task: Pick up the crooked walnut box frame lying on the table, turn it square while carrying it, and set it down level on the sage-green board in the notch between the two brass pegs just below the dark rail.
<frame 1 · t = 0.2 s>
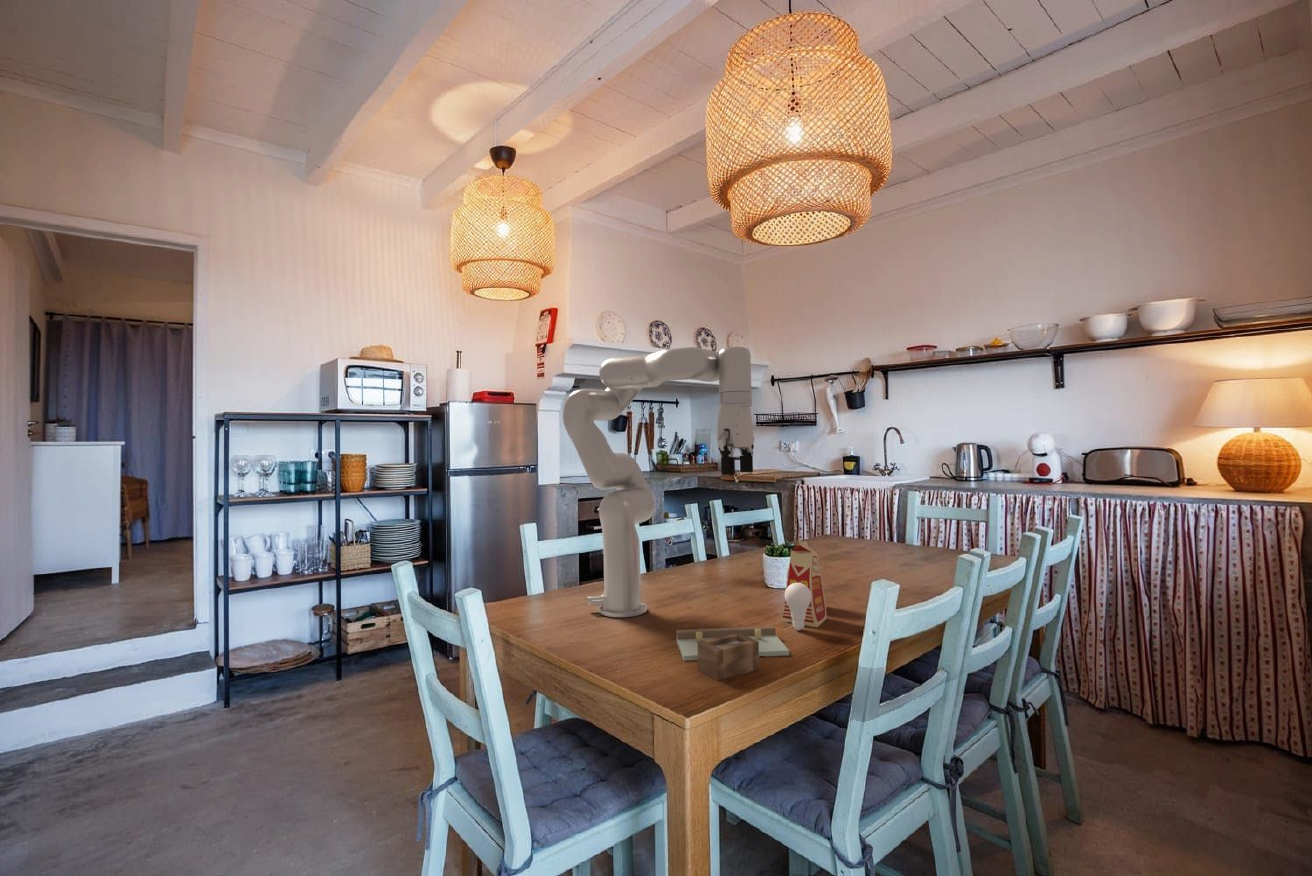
hand: (737, 473, 146), 37 cm above the table, tool pointing down, fingers open, 9 cm apart
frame: (728, 669, 122), on the table
milk carton: (804, 620, 153), on the table
board: (730, 648, 134), on the table
lightbulb: (798, 631, 145), on the table
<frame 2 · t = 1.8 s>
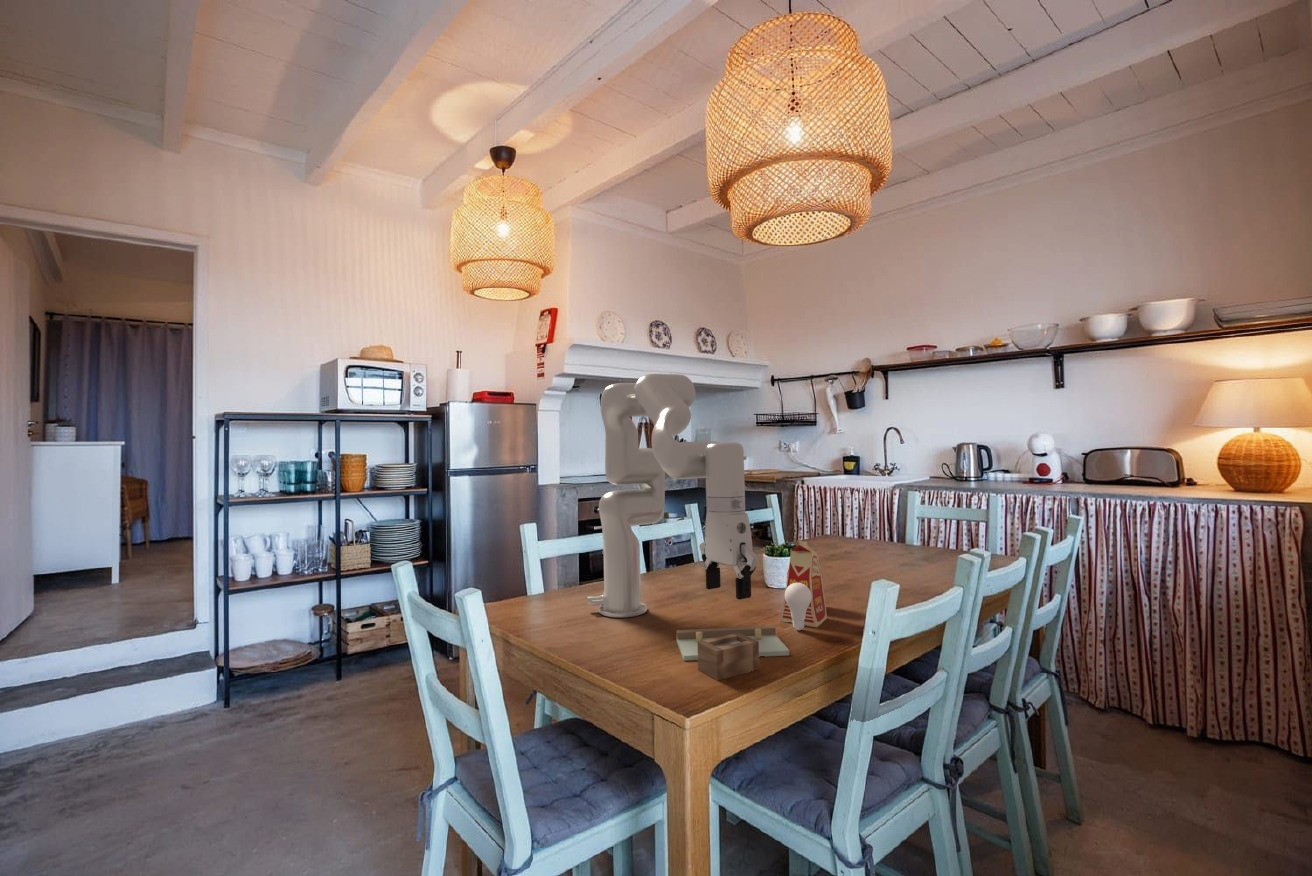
hand: (728, 593, 122), 15 cm above the table, tool pointing down, fingers open, 9 cm apart
nothing on the table moved.
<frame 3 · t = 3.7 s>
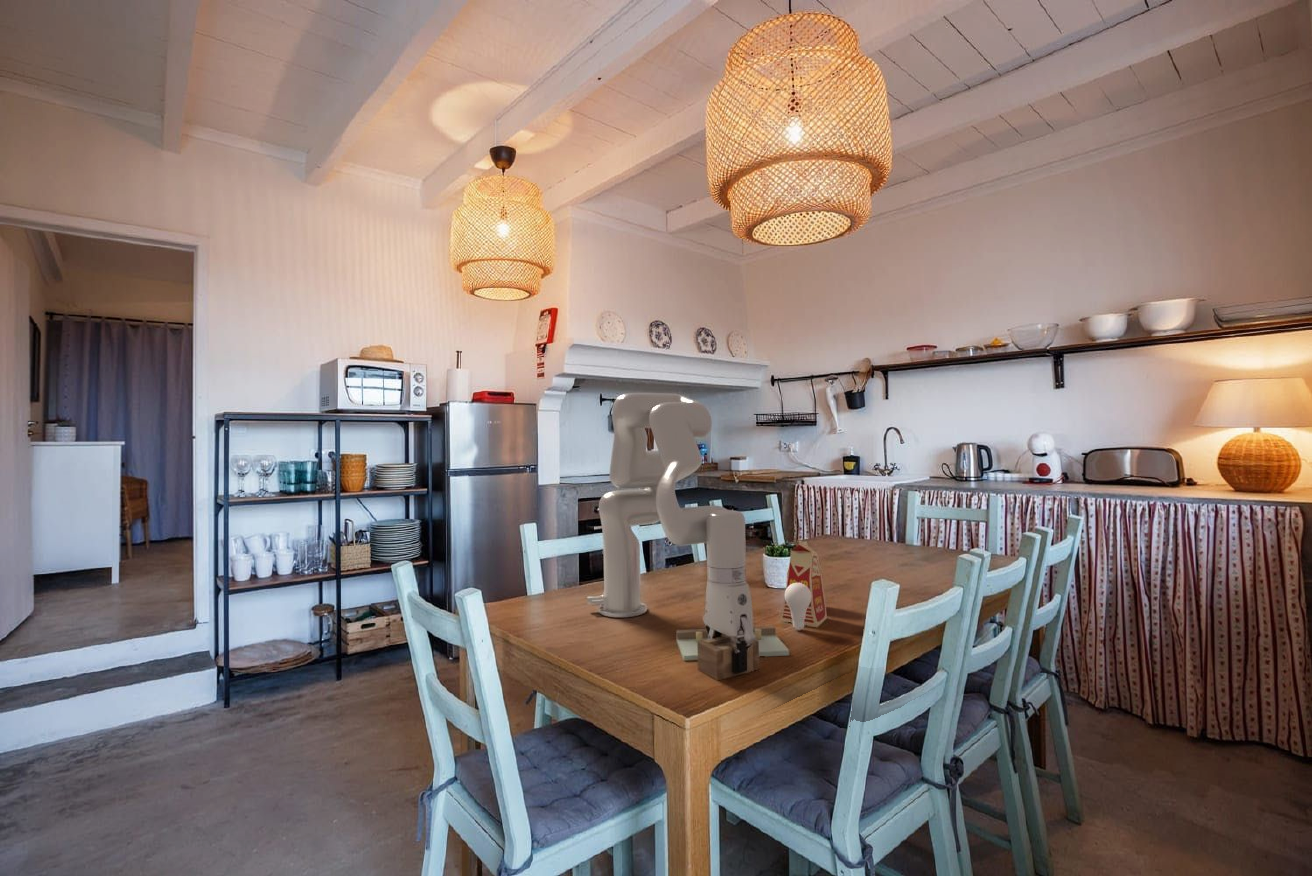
hand: (728, 665, 122), 1 cm above the table, tool pointing down, fingers closed on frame, 6 cm apart
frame: (728, 669, 122), on the table, touching gripper
everything else where it was.
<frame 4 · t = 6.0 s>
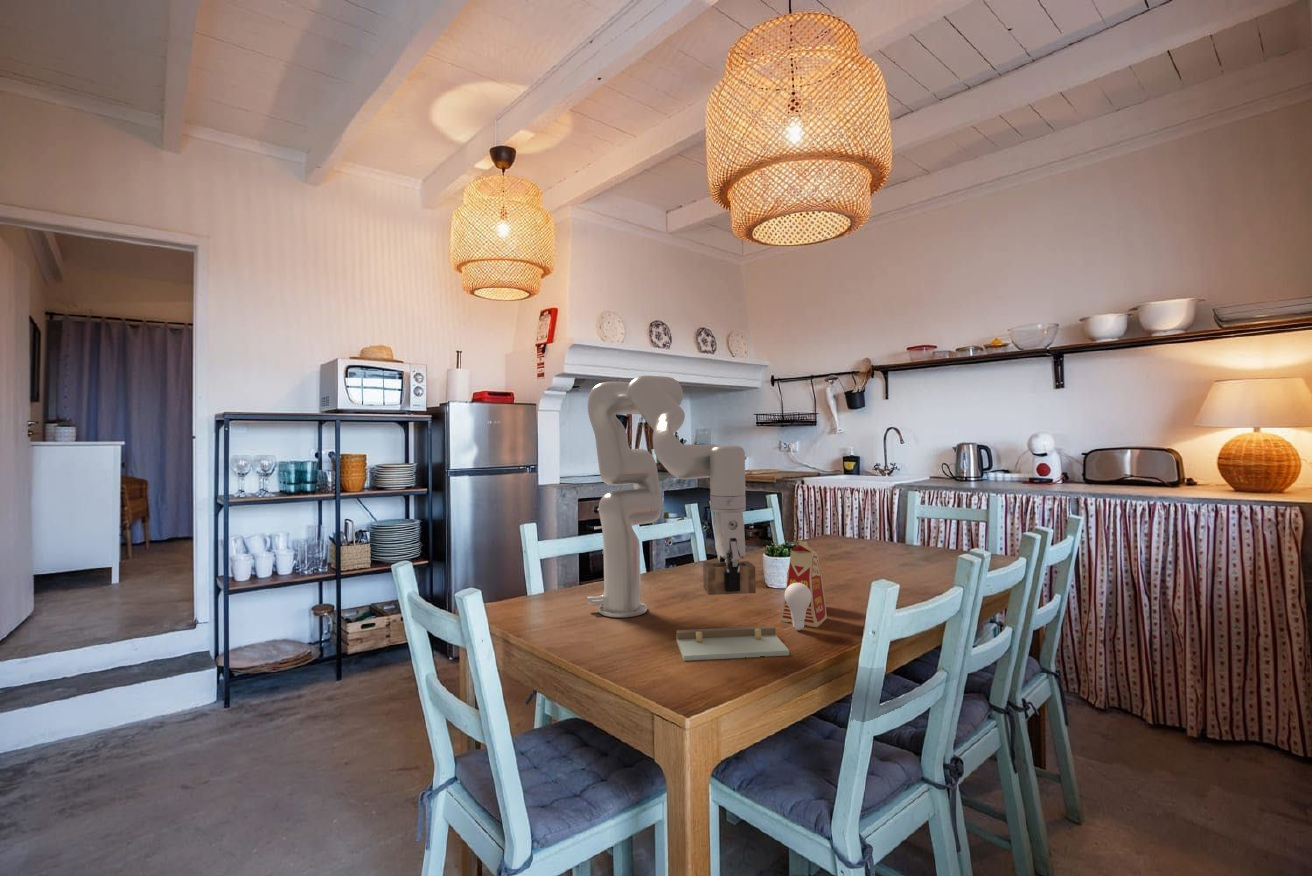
hand: (728, 586, 134), 13 cm above the table, tool pointing down, fingers closed on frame, 6 cm apart
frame: (729, 590, 134), point 12 cm above the table, touching gripper
everything else where it was.
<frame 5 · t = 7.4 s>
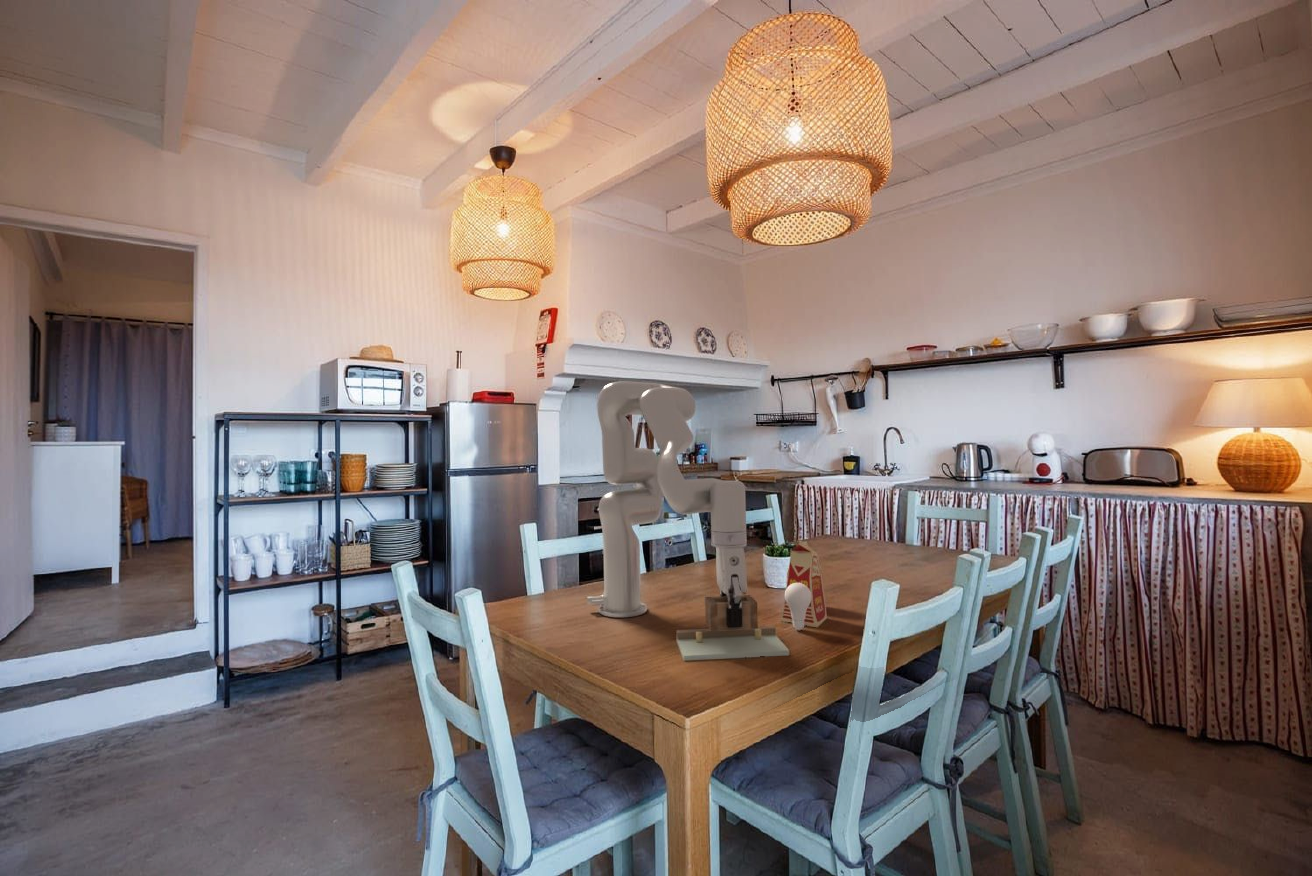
hand: (731, 621, 134), 6 cm above the table, tool pointing down, fingers closed on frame, 6 cm apart
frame: (731, 625, 134), point 5 cm above the table, touching gripper
everything else where it was.
when the fingers open (4 cm above the table, at t = 8.3 s): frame drops 2 cm, resting on board.
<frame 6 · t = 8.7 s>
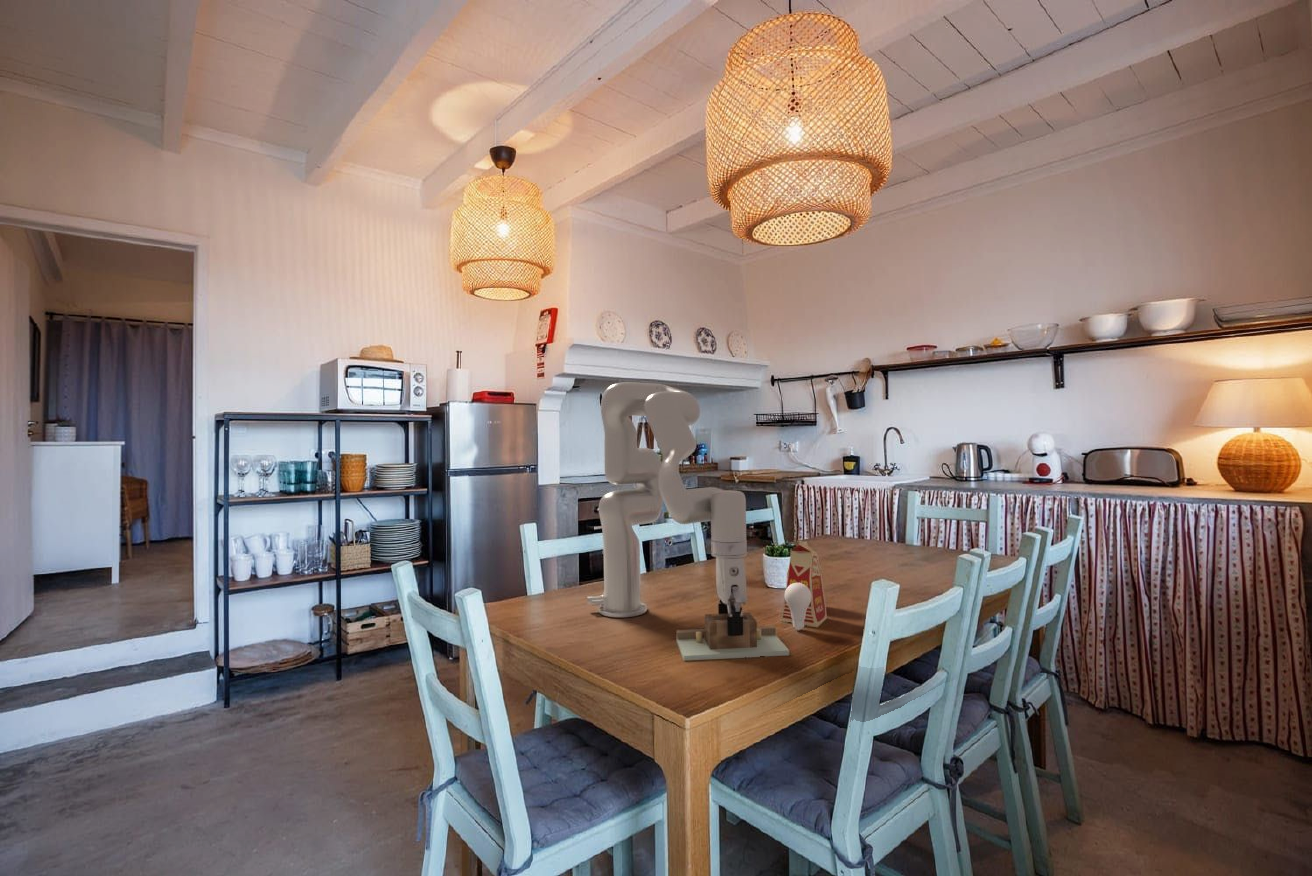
hand: (730, 628, 134), 4 cm above the table, tool pointing down, fingers open, 9 cm apart
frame: (730, 643, 134), point 1 cm above the table, touching board
everything else where it was.
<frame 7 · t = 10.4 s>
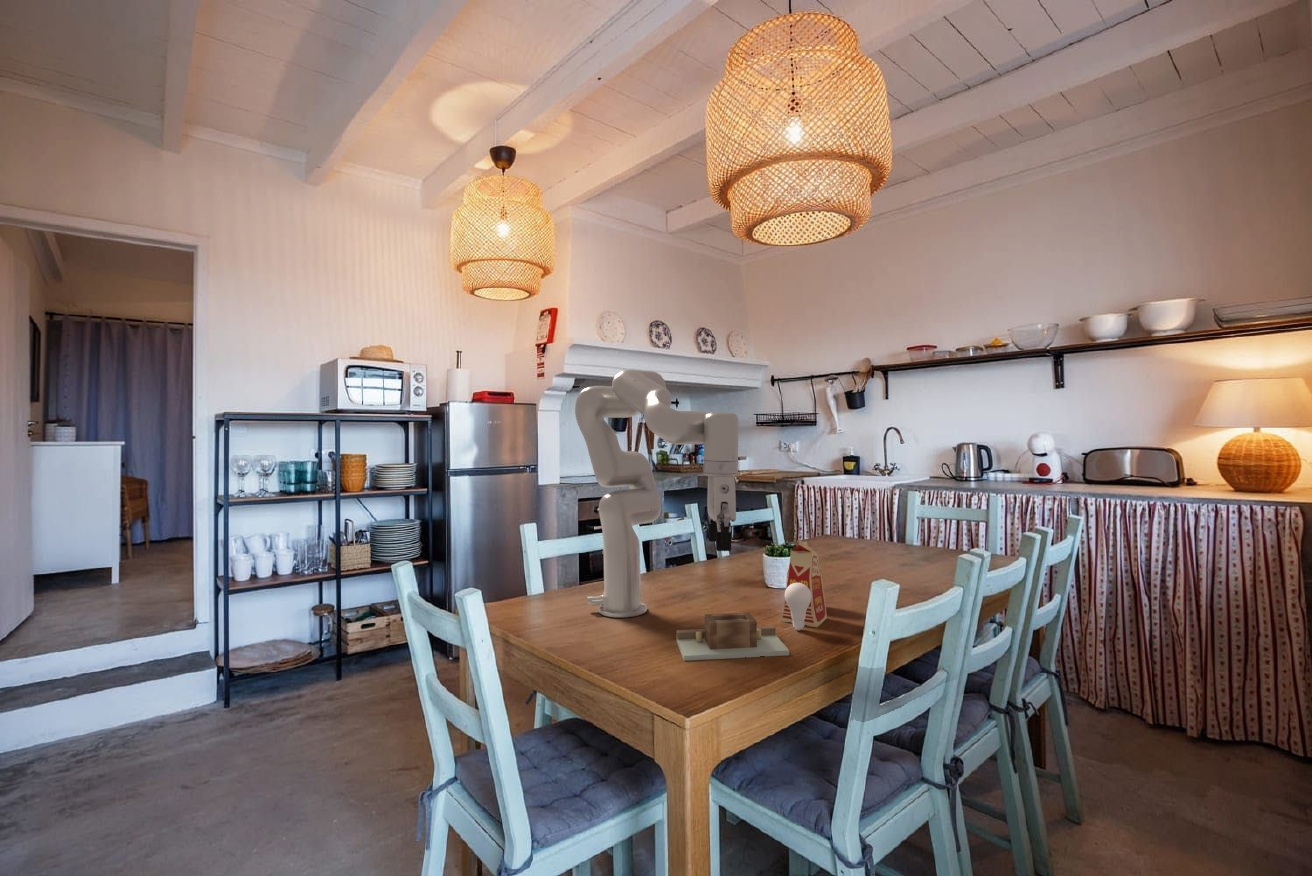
hand: (719, 545, 138), 21 cm above the table, tool pointing down, fingers open, 9 cm apart
nothing on the table moved.
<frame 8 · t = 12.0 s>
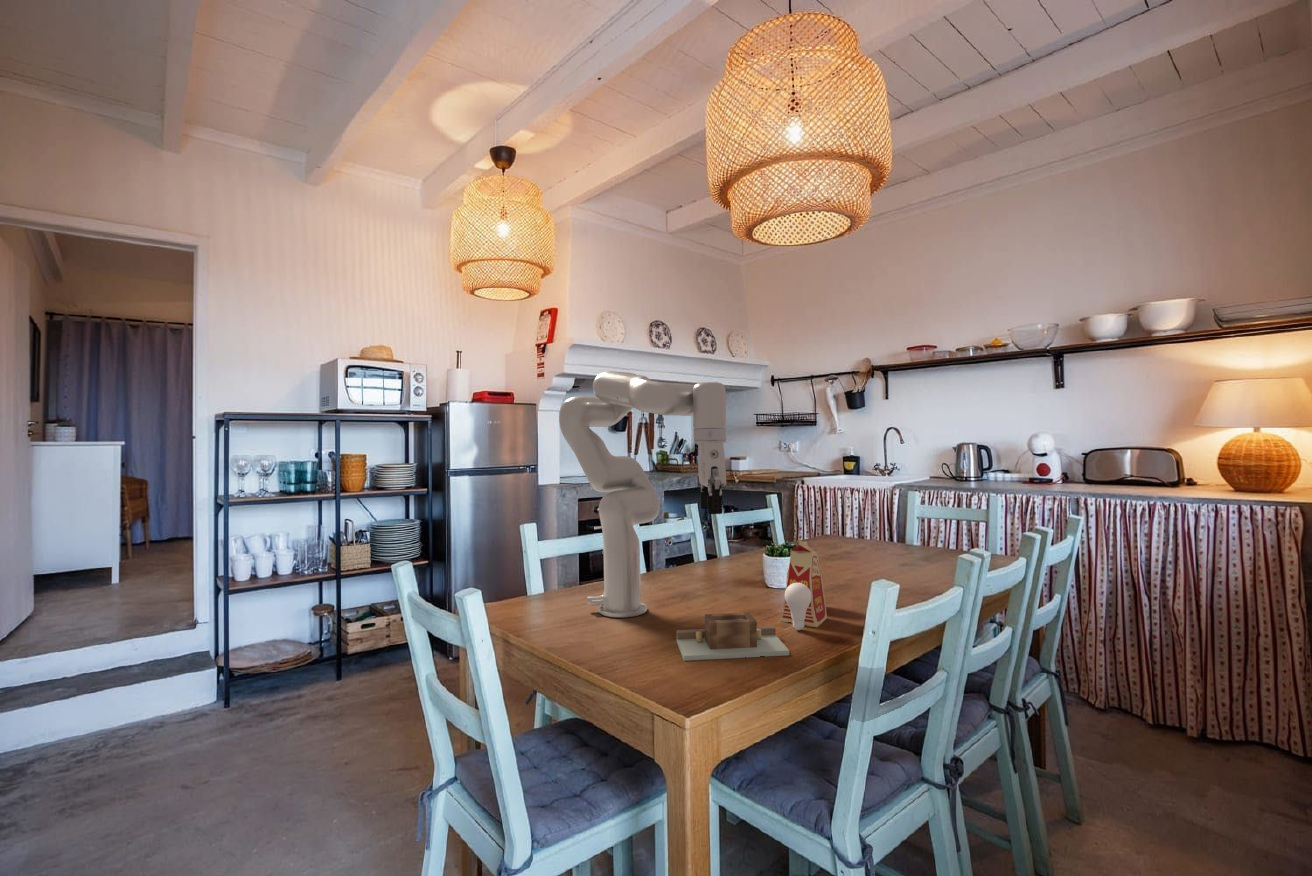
hand: (711, 511, 143), 28 cm above the table, tool pointing down, fingers open, 9 cm apart
nothing on the table moved.
at the end: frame 0.0 cm off-centre on the board, point 1.0 cm above the board's base; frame tilted 0°; the gripper is holding nothing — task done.
